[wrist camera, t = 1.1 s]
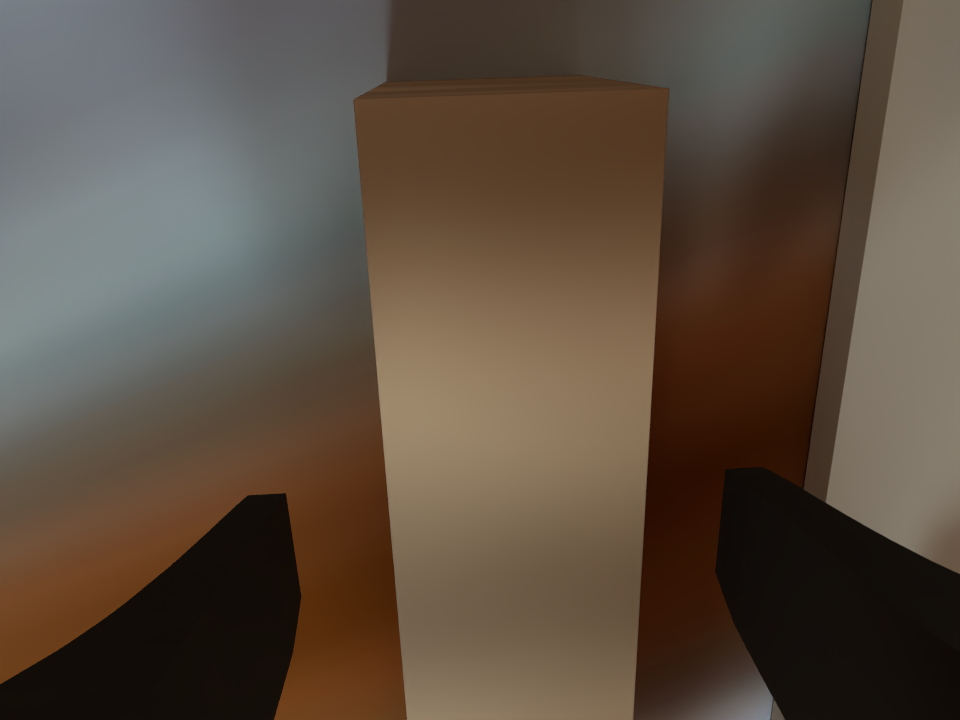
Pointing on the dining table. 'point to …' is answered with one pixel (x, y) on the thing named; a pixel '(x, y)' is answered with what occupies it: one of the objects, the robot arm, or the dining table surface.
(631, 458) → the wooden block
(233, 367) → the dining table surface
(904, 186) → the cradle
